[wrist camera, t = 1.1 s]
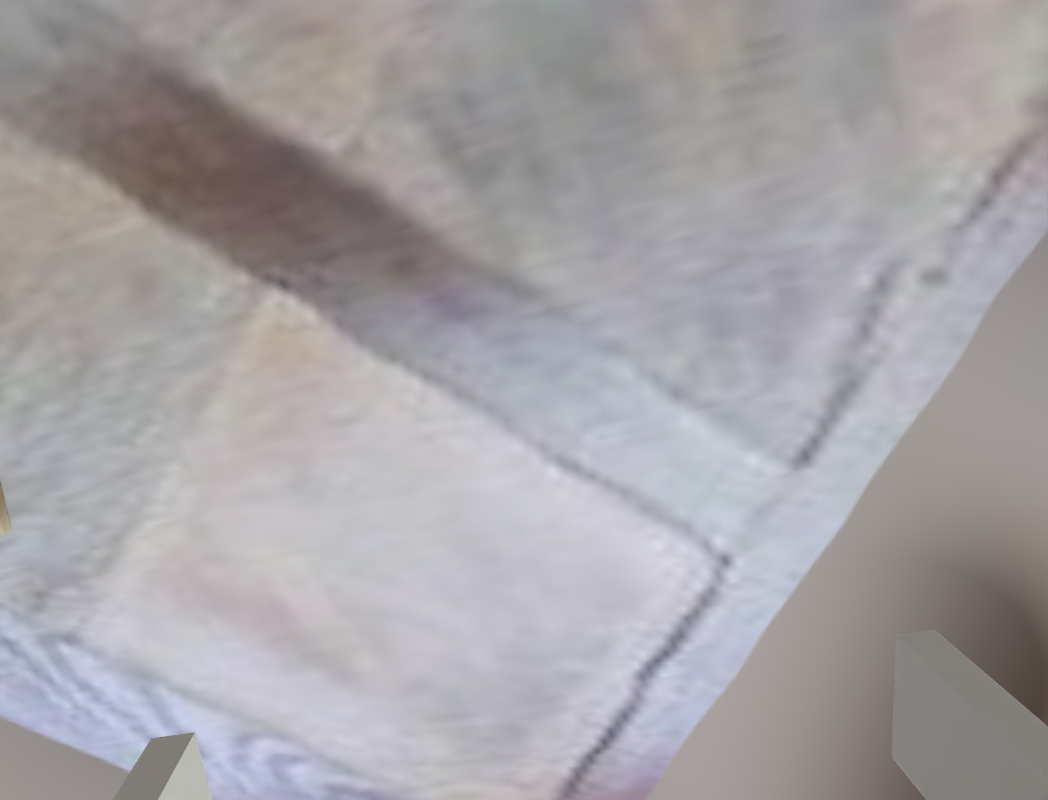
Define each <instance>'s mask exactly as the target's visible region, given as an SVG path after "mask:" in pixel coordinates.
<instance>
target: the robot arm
mask: <svg viewBox="0 0 1048 800" xmlns="http://www.w3.org/2000/svg"><path fill="white" fill-rule="evenodd" d="M895 652H896V653H895V679H894V708H893V735H892V758H893V759H894V760H895V762H896V763H897V764H898V765H899V766H900V768H901V769H902V770H903V771H904V773H905V774H906V775H907V776H908V778H909V779H910V780H911V781H912V783H913V784H914V785H915V786H916V788H917V789H918V790H919V791H920V793H921V794H922V795H923V796H924V797H925V799H926V800H1048V726H1046V725H1045V724H1044V723H1043V722H1042V721H1041V720H1039V719H1038V718H1037V717H1036V716H1035V715H1034V714H1032V713H1031V712H1030V711H1029V710H1028V709H1026V708H1025V707H1024V706H1023V705H1022V704H1021V703H1020V702H1018V701H1017V700H1016V699H1015V698H1013V697H1012V696H1011V695H1010V694H1009V693H1008V692H1006V690H1004V689H1003V688H1002V687H1001V686H1000V685H998V684H997V683H996V682H995V681H994V680H993V679H991V678H990V677H989V676H988V675H987V674H985V672H983V671H982V670H981V669H980V668H979V667H977V666H976V665H975V664H974V663H973V662H972V661H970V660H969V659H968V658H967V657H966V656H965V655H963V654H962V653H961V652H960V651H959V650H958V649H956V648H955V647H954V646H953V645H952V644H951V643H949V642H948V641H947V640H946V639H945V638H944V637H942V636H941V635H940V634H939V633H937V631H935V630H931V631H924V632H917V633H910V634H902V635H896V651H895ZM113 800H212V798H211V794H210V790H209V786H208V782H207V778H206V774H205V770H204V767H203V763H202V759H201V755H200V751H199V747H198V743H197V739H196V735H195V732H194V733H187V734H180V735H173V736H166V737H158V738H151V740H150V742H149V743H148V745H147V746H146V748H145V750H144V751H143V753H142V754H141V756H140V758H139V759H138V761H137V762H136V764H135V766H134V767H133V769H132V770H131V772H130V774H129V775H128V777H127V778H126V780H125V782H124V784H123V785H122V786H121V788H120V790H119V791H118V793H117V795H116V796H115V798H114V799H113Z"/></svg>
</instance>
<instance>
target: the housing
mask: <svg viewBox="0 0 1048 800" xmlns="http://www.w3.org/2000/svg"><path fill="white" fill-rule="evenodd" d="M10 530H11V527H10V522H9V518H8V514H7V509H6V505H5V501H4V497H3V492H2V488H1V484H0V535H2V534H5V533H7V532H8V531H10Z"/></svg>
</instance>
